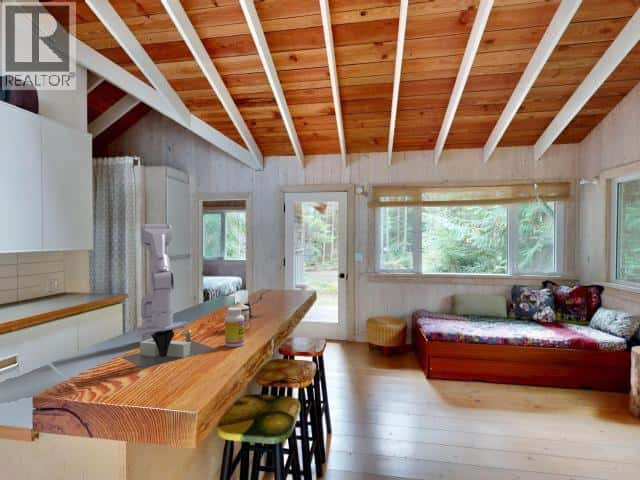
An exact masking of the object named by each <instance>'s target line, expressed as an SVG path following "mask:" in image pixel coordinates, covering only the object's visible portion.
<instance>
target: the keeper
mask: <svg viewBox="0 0 640 480" xmlns="http://www.w3.org/2000/svg"><path fill="white" fill-rule="evenodd" d="M191 332H192V331H191V329H186V330H184V331H183V332H181V333H180V338H185V342H190V346H191V341H192V340H191V338H192V337H191V334H192V333H191Z"/></svg>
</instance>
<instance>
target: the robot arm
mask: <svg viewBox="0 0 640 480" xmlns="http://www.w3.org/2000/svg"><path fill="white" fill-rule="evenodd" d="M172 232H173V231H172V225H171V224H170V223H168V224H166V223H165V224H164V223H163V224H162V223H161V224H159V223H158V224H156V223H154V224H153V223H152V224H151V223H147V224H145V223H142V224H140V244H141V247H143V248H146V249H147V251H148V269H149V270H148V272H149V273H148V274H149V275H148V276H149V278H148V280H149V286H148V287H149V292H148V293H146V294H145V295H143V296H142V297H141V299H140V301H141V302H140V303H141V304H140V314H141V315H140V317H141V319H143V320H144V321H143V322H142V325H141V328H140V329H135V330H136V333H135V334H136V337H137V338H141V339H142V340H141V341H139V343H140V342H143V341H146V340H149V339H152V338H153V339H154V341H155V343H156V345H157V348H158V351H159V356H161V357H165V356H167V352H168V348H169V345H170V342H171V341H173V338H174V337H175V331H177V330H181V329H187V327H188V325H187V324H188V322H187V321H177V322H176V321H175V322H174V321H173V320H174V319H173V318H174V317H173V316H174V314H173V311H174V310H173V290H174V287H175V276H174V272H173V269H172V268H171V261H170V257H169V256H168V255H167V254H166V248H167V247H169V246H170V244H171V240H172V237H173V236H172V235H173V234H172Z"/></svg>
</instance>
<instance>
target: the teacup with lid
mask: <svg viewBox="0 0 640 480" xmlns="http://www.w3.org/2000/svg"><path fill="white" fill-rule="evenodd" d="M229 308H241V315H242V316H243V317H244V331H247V330H249V329H250V307H249V306H248V305H245V304H243V303H242V302H241V301H239V300H238V301H237V300H236V302H235V303H234V304H232V305H231V306H229V307H228V308H227V310H228V309H229Z"/></svg>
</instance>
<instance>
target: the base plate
mask: <svg viewBox="0 0 640 480" xmlns="http://www.w3.org/2000/svg"><path fill="white" fill-rule="evenodd" d="M216 350H218V349H217V348H215V347H212V346H210V345H207V344H203V343H201V342H197V341H194V340H191V346H190V355H188V356H186V357H184V358H183V357H173V356H165V357H161V356H159V355H157V356H147V355H140V352H136V353H132V354H128V355H123V356H121V358H122V359H125V360H126V361H127V362H130V363H132V364H133V365H135V366H137V367H139V368H140V369H147V368H152V367H154V366H155V367H156V366H158V365H163V364H168V363H171V362H175V361H178V360H182V359H185V358H190V357H194V356H196V355H197V356H198V355H202V354H206V353H208V352H212V351H216Z"/></svg>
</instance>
